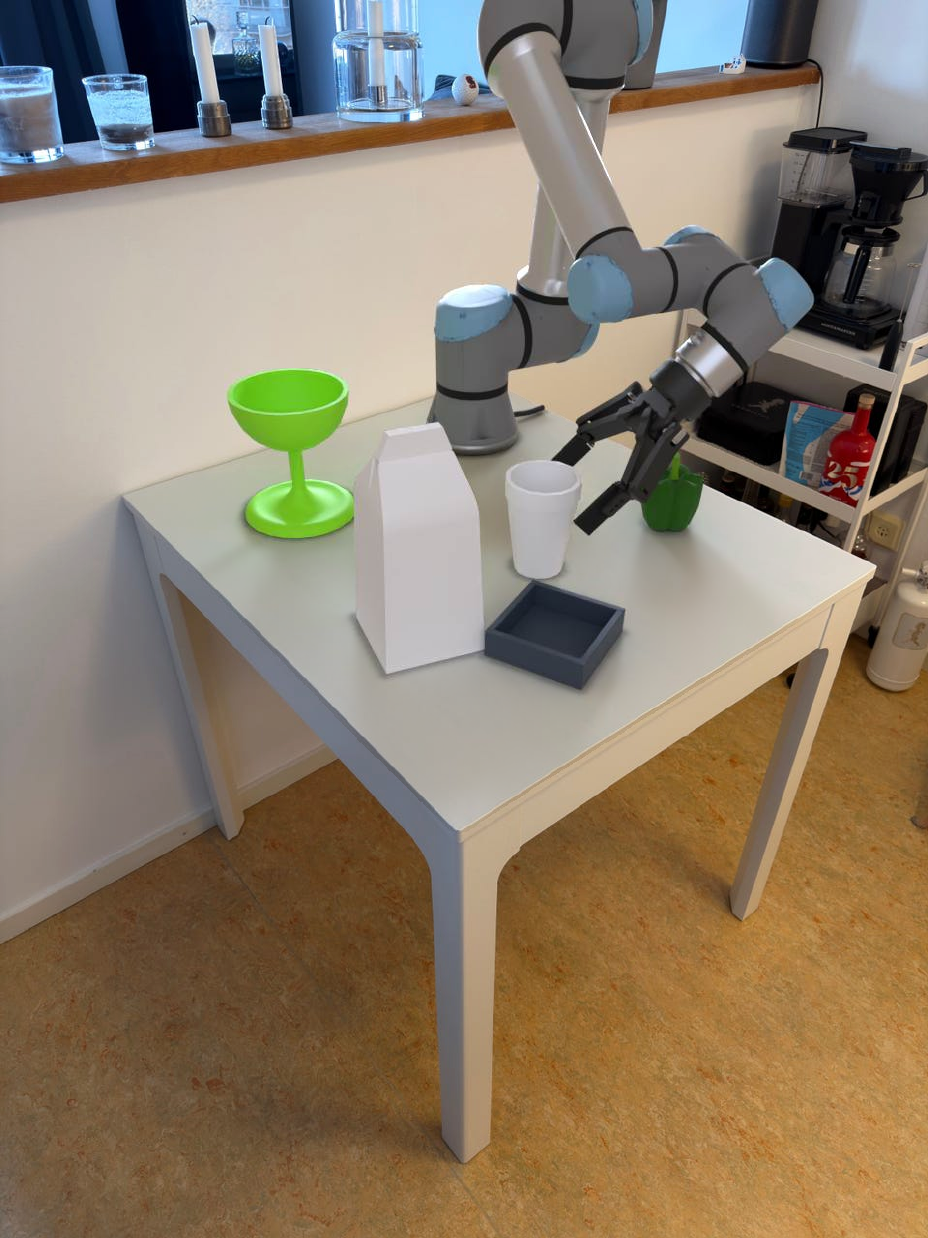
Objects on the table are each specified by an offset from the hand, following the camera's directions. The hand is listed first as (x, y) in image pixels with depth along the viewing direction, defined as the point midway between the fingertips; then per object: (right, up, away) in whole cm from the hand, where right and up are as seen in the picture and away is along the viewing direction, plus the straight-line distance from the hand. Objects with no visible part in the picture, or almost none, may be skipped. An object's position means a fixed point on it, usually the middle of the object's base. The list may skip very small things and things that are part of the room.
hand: (563, 501), depth 113 cm
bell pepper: (+16, -1, +14) cm, 22 cm away
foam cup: (-3, -8, +5) cm, 10 cm away
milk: (-18, -17, -7) cm, 25 cm away
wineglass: (-36, +1, +17) cm, 40 cm away
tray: (-2, -18, -8) cm, 20 cm away
